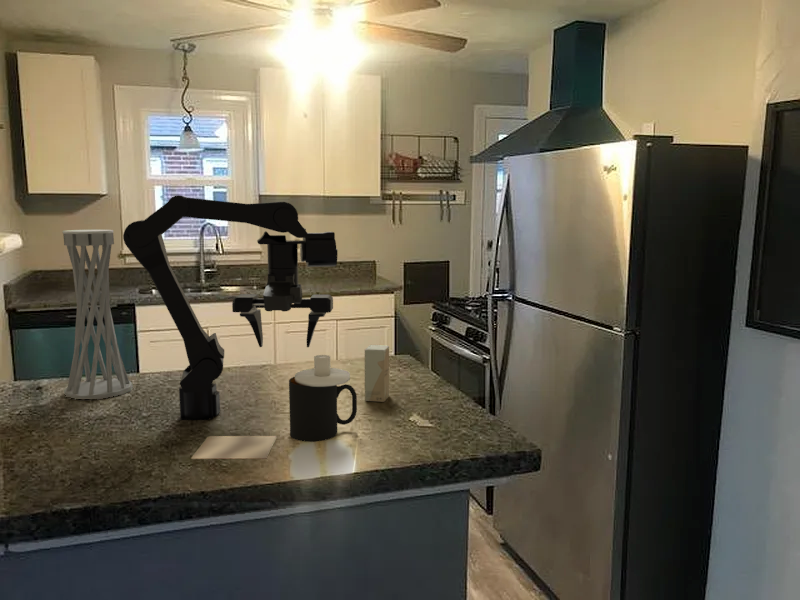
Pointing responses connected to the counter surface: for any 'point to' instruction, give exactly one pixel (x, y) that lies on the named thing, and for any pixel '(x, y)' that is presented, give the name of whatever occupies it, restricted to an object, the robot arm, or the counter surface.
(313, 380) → the lid
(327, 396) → the mug
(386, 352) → the box
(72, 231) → the vase
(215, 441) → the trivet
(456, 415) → the counter surface
